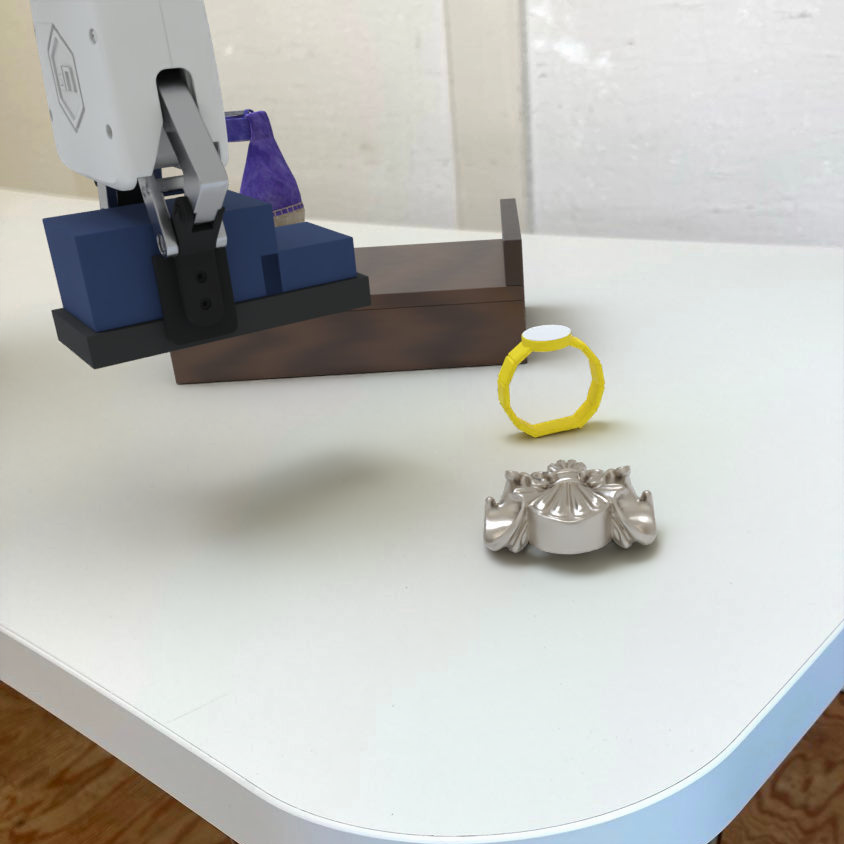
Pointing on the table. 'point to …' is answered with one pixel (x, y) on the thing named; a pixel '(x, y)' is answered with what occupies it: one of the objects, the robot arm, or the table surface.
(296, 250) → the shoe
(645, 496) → the ornament
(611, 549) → the table surface
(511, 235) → the wooden riser with lip
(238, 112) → the sandal
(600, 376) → the watch
